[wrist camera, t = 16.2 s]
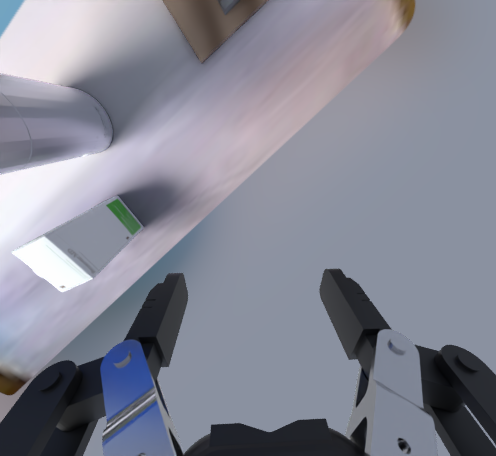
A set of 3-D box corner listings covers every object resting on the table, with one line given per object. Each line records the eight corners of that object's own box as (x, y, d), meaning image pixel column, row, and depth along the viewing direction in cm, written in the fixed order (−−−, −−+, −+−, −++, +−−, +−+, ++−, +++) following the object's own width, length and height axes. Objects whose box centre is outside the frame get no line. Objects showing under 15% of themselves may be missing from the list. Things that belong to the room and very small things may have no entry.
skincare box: (145, 227, 40) (97, 280, 27) (120, 238, 42) (62, 295, 28) (116, 192, 37) (43, 235, 23) (90, 206, 38) (6, 254, 24)
